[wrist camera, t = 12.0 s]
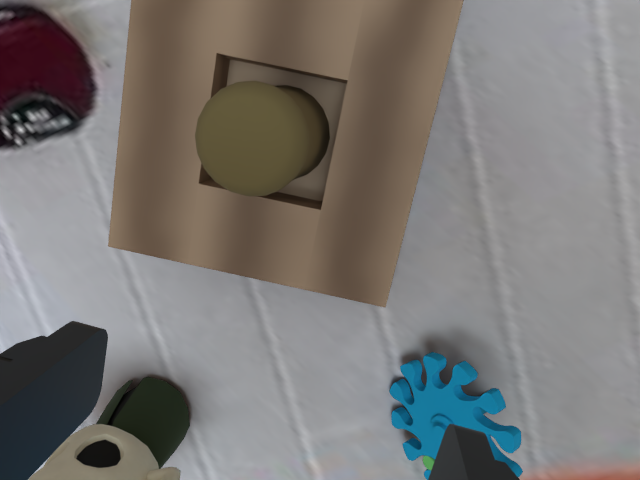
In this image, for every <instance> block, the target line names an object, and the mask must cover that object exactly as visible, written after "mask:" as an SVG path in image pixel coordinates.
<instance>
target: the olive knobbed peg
mask: <svg viewBox="0 0 640 480" xmlns="http://www.w3.org/2000/svg"><path fill="white" fill-rule="evenodd" d="M329 140H330V132H329V122H328V119H327V117H326V114H325V112H324V109H323V108H322V107H321V105H320V104H319V103H318V102H317V100H316V99H315V98H314V97H313V96H312V95H310V94H308V93H307V92H305V91H304V90H302V89H300V88H296V87H293V86H289V85H280V86H273V85H270V84H266V83H263V82H259V81H243V82H236V83H234V84H231V85H229V86H227V87H224V88H222V89H220V90H219V91H218V92H217V93H216V94H215V95H214V96H213V97H212V98H211V99H210V100H208V101H207V103H206V104H205V106H204V108H203V110H202V112H201V114H200V115H199V117H198V121H197V126H196V132H195V141H196V149H197V154H198V156H199V158H200V161H201V163H202V165H203V167H204V169H205V170H206V172H207V173H208V174H209V175H210V176H211V177H212V179H213V180H214V181H215V182H216V183H218V184H219V185H221V186H222V187H224V188H226V189H227V190H229V191H231V192H234V193H237V194H241V195H245V196H266V195H269V194H271V193H274V192H276V191H279V190H281V189H283V188H284V187H285V186H286V185H287V184H289V183H290V182H291V181H292V180H295V179H297V178H300V177H302V176H305V175H307V174H309V173H310V172H311V171H312V170H313V169H315V168H316V167H317V166H318V165H319V164H320V162H321V160H322V159H323V157H324V156H325V154H326V152H327V148H328V144H329Z"/></svg>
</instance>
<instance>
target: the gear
mask: <svg viewBox="0 0 640 480" xmlns="http://www.w3.org/2000/svg"><path fill="white" fill-rule="evenodd" d="M423 363H424V366H425V369H426V373H427V383H426V386H425V385H424V384H423V382H422V380H421V374H422V365H421V363H420V361H419V360H413V361H410V362H408V363H406V364H404V365H402V366H400V369H401V372H402V374H403V375H404V377H405V378H406V379H407V381H408V382H409V384H410V386H411V388H412V391H413V395H414V398H413V397H412V395H411V392H410V388H409V385H408V383H407V382H406V381H405V380H404V379H401V380H399V381H397V382H395V383H394V384H393V385H392V386H391V388H390V391H389V392H390V394H391V396H392V397H393V398H395V399H396V400H398V401H400V402H401V403H402V404H403V405H404V406H405V407H406V409H407V410H408V411H409V413H410V415H411V416H412V418H411V416H410V415H409V413H408V412H407V410H406V409H404V408H403V407H399V408H397V409H396V410H394V411H392V425H393V426H394V427H395V428H397V429H406V430H408V431H410V432H411V433H413V434H414V435H415V436H416V437H418V438H419V440H420V441H421V442H419V441H418V440H417V439H415V438H411V439H409V440H408V441H406V442H405V443H403V448H404V451H405V454H406V456H407V458H408V459H409V460H411V461H413V460H415V459H416V458H418V457H419V456H421V455H425V456H424V457H423V463H424V465H425V467H426V468H427V470H426V471H425V472H424V476H425V478H426V479H427V480H428V479H429V476H430V473H431V470H432V467H433V464H434V461H435V459H436V456H437V453H438V450H439V447H440V444H441V441H442V439H443V436H444V433H445V430H446V428H447V427H448V425H449V424H454V425H458V426H462V427H465V428H469V429H473V430H476V431H480V432H484V433H485V434H486V436H487V439H488V442H489V444H490V447H491V450H492V453H493V456H494V458H495V460H498V461H501V462H505V463H506V464H507V465H508V466H509V467H510V469H511V470H512V471H513V472H514V473H515V475H516V476H517V477H519V476H520V475H521V474H522V472H523V471H522V469H521V467H520V466H519V465H518V464H517V463H516V462H514V461H512V460H510V459H509V458H507V457H506V456H505V455H504V454H502V453H501V451H500V450H499V449H498V448H497V447H496V445H495V444H494V442H493V441H492V439H491V437H490V435H491V436H493V437H494V438H495V439H496V441H497V442H498V444H499V445H500V447H501V448H502V449H503V450H504V451H506V452H508V453H513V452H514V451H515V450H517V449H518V448H519V447H520V445H521V431H520V430H519V429H518V428H516V427H514V426H503V425H499V424H497V423H494V422H493V421H491V420H490V419H488V418H487V417H485V416H484V415H483V414H484V413H486V412H488V413H490V414H497V413H498V412H500V411H501V410H503V409H504V408H505V407H506V405H505V401H504V399H503V397H502V395H501V393H500V391H499V389H496V388H492V389H490V390H489V391H487V392H485V393H484V394H482V396H478V397H477V396H468V395H466V394H465V393H464V392H463V391H462V389H461V385H467V384H469V383H470V382H472V381H474V380H475V379H476V378H477V376H478V373H477V372H476V370H475V369H474V368H473V367H472V366H471V365H470V364H469V363H467V362H466V361H463V362H461V363H459V364H457V365H455V366H454V367H453V370H452V378H451V381H450V382H449V384H448V385H446V384H444V383H443V382H442V381H441V380H440V377H439V373H440V371H441V370H442V369H444V368H445V367H446V364H447V361H446V358H445V357H444V356H443V355H441V354H438V353H434V352H431V353H429V354H427V355H425V356H424V358H423Z"/></svg>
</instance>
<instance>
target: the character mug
mask: <svg viewBox="0 0 640 480" xmlns="http://www.w3.org/2000/svg"><path fill="white" fill-rule="evenodd" d="M132 381H133V380H131V381H128V382H127V383H126V384H125V385H124V386H122V387H121V388H120V389H119V390H118V391H117V392H116V394H115V395H114V397H113V398H112V399H111V401H110V402H109V404H108V405H107V407H106V408H105V410H104V412H103V413H102V415H101V417H100V418H99V420H98V422H97V423H96V424H94V425H90V426H87V427H85V428H83V429H81V430H79V431H78V432H76V433H74V434H72V435H71V436H69V437H68V438H67V439H66V440H65V441H64V442H63V443H62V444H61V445H60V446H59V447H58V448H57V449H56V450H55V451H54V452H53V454H52V455H51V456H50V457H49V459H48V460H47V462H46V463H45V465H44V467H43V468H41V469H40V470H39V471H37V472H36V473H35V474H33V475H32V476H31V477H30V478H29V479H28V480H180V470H179V469H177V468H176V467H168V468H162V469H161V467H162V466H163V465H164V464H165V462H166V461H167V460H168V459H169V458H170V456H171V455H172V454H173V453H174V451H175V450H176V449H177V447H178V446H179V445H180V443H181V442H182V440H183V439H184V437H185V435H186V433H187V430H188V428H189V426H190V423H189V413H188V408H187V406H186V404H185V402H184V399H183V397H182V395H181V393H180V392H179V391H178V390H176V389H175V388H174V387H172V386H171V385H170V384H168V383H167V382H165V381H162V380H158V379H154V378H150V377H146V378H143V380H142V381H141V382H140V384H139V385H138V387H137V388H135V389H133V390H131V391H129V392H127V393H125V392H126V390H127V389H128V387H129V386H130V384H131V383H132ZM124 393H125V394H124Z"/></svg>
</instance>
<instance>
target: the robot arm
mask: <svg viewBox="0 0 640 480" xmlns="http://www.w3.org/2000/svg"><path fill="white" fill-rule="evenodd" d="M107 341H108V335H107V331H106V330H104V329H101V328H98V327H94V326H90V325H86V324H83V323H79V322H75V321H72V322H69V323H68V324H66V325H65V326H63V327H62V328H60V329H59V330H57V331H56V332H54V333H53V334H51V335H50V336H48V337H45V336H39V337H36V338H33V339H30V340H27V341H23V342H20V343H17V344H15V345H14V346H12V347H11V348H9V349H7V350H6V351H4V352H3V353H1V354H0V480H28V479H29V477H30V476H31V475H32V474H33V473H34V472H35V471H36V470H37V469H38V468H39V467H40V466H41V465H42V464H43V463H44V462H45V461H46V460H47V459H48V458H49V457H50V456H51V455H52V454H53V452H54V451H55V450H56V449H57V448H58V447H59V446H60V445H61V444H62V443H63V442H64V441H65V440H66V439H67V438H68V437H69V436H70V435H71V434H72V433H73V432H74V431H75V430H76V429H77V428H78V426H79V425H80V424H81V423H82V422H83V421H84V420H85V419H86V418H87V417H88V416H89V415H90V413H91V412H92V410H93V409H94V407H95V405H96V403H97V401H98V398H99V395H100V392H101V387H102V379H103V372H104V364H105V356H106V349H107ZM428 480H520V479H519V478H518V477H517V476H516V475H515V473H514V472H513V471H512V470H511V469H510V467H509V466H508V465H507V464H506V463H505V462H501V461H498V460H495V458H494V456H493V453H492V450H491V447H490V444H489V442H488V439H487V436H486V434H485V433H484V432H480V431H476V430H473V429H469V428H465V427H462V426H458V425H454V424H449V425H448V427H447V428H446V430H445V433H444V436H443V439H442V441H441V444H440V447H439V450H438V453H437V456H436V459H435V461H434V464H433V467H432V470H431V473H430V476H429V479H428Z"/></svg>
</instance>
